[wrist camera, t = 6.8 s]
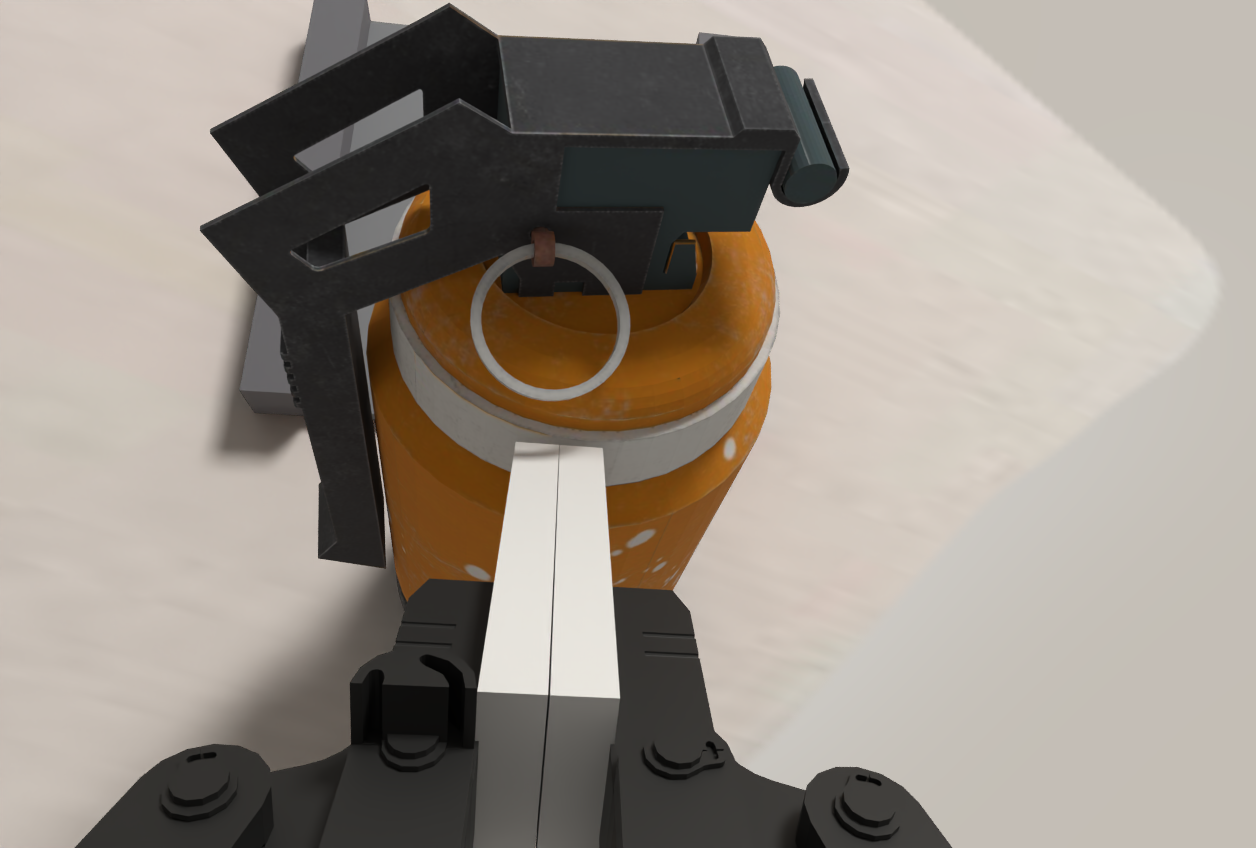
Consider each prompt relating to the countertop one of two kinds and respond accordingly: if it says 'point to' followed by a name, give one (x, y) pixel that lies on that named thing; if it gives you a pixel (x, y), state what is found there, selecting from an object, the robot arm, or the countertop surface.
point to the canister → (527, 279)
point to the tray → (330, 39)
